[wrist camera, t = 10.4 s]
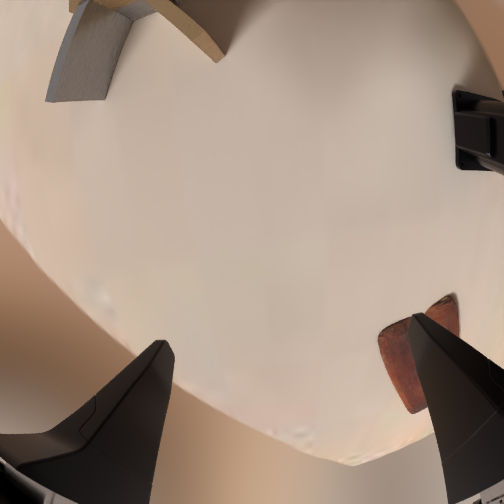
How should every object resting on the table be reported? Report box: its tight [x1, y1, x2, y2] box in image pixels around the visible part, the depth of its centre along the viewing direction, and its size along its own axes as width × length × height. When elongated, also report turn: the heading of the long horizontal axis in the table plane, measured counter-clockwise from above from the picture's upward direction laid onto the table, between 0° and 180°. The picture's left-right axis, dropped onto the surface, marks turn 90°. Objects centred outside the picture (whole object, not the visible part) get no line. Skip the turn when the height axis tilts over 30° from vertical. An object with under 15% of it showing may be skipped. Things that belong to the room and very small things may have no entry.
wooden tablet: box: [378, 296, 459, 414], centre depth 28 cm, size 27×10×2 cm, turn 33°
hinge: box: [45, 0, 225, 103], centre depth 10 cm, size 10×11×6 cm
